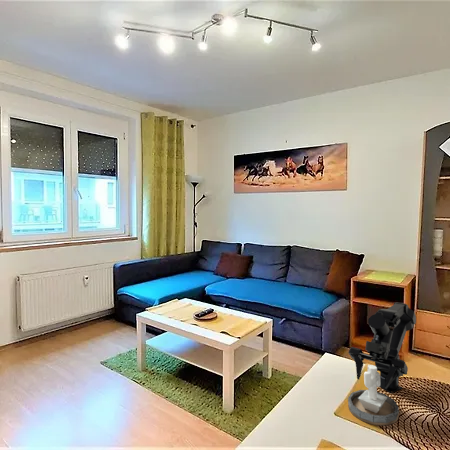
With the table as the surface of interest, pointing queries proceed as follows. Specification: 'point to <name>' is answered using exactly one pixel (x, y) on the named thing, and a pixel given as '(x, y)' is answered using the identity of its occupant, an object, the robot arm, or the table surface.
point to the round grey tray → (371, 417)
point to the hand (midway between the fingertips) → (371, 383)
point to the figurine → (372, 391)
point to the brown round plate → (383, 411)
